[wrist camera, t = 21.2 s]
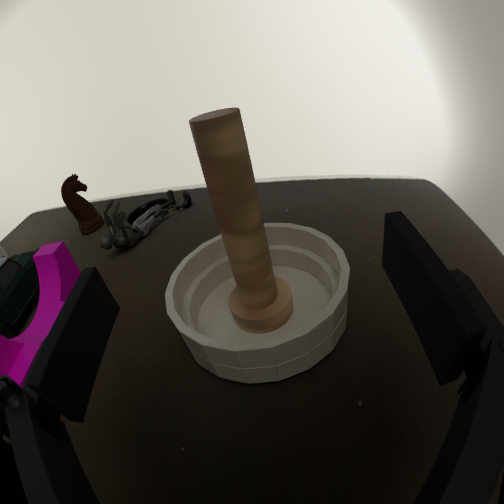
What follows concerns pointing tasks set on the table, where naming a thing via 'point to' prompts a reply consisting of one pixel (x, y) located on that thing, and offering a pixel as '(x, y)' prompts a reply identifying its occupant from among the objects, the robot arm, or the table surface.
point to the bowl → (276, 342)
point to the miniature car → (16, 288)
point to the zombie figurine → (135, 222)
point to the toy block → (40, 310)
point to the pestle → (240, 222)
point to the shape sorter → (3, 252)
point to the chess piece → (80, 205)
